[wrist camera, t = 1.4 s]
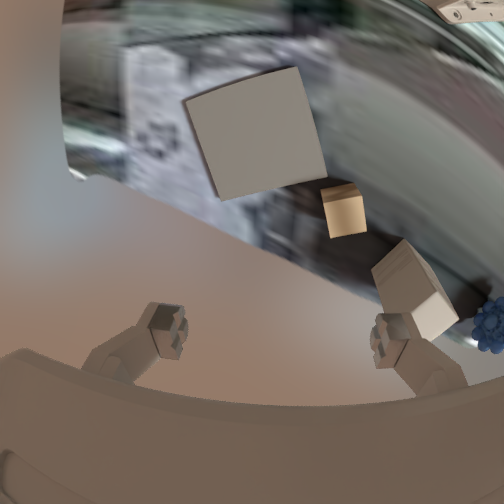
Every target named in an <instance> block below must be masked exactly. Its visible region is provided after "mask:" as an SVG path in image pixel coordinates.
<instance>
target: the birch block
mask: <svg viewBox="0 0 504 504" xmlns="http://www.w3.org/2000/svg"><path fill="white" fill-rule="evenodd" d="M320 190H321V195H322V200H323V204H324V209H325V214H326V218H327V223H328V228H329V234H330V238H334V237H339V236H344V235H350V234H355V233H360V232H366V231H367V229H366V221H365V214H364V207H363V200H362V195H361V194H360V192H359V190H358V189H357V187H356V185H355V184H354V183H351V184H346V185H341V186H335V187H330V188H325V189H320Z"/></svg>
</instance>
